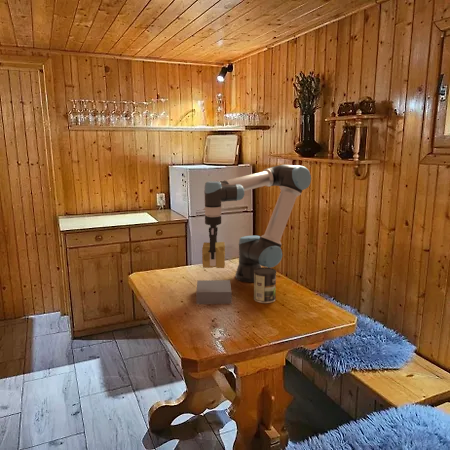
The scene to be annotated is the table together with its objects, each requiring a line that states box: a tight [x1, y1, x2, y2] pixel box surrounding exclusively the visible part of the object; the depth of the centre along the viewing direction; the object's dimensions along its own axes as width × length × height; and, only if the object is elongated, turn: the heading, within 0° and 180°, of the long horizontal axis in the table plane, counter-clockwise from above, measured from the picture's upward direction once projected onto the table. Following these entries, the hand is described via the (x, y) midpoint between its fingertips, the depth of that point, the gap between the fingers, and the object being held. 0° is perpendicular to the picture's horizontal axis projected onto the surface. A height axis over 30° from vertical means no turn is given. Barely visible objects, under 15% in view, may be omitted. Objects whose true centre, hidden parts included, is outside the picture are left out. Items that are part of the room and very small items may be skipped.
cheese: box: [201, 241, 226, 269], centre depth 189 cm, size 10×11×10 cm
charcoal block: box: [195, 279, 233, 305], centre depth 193 cm, size 16×16×6 cm
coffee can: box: [253, 266, 277, 304], centre depth 190 cm, size 10×10×14 cm
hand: (213, 262), depth 190 cm, fingers closed on cheese, 10 cm apart
